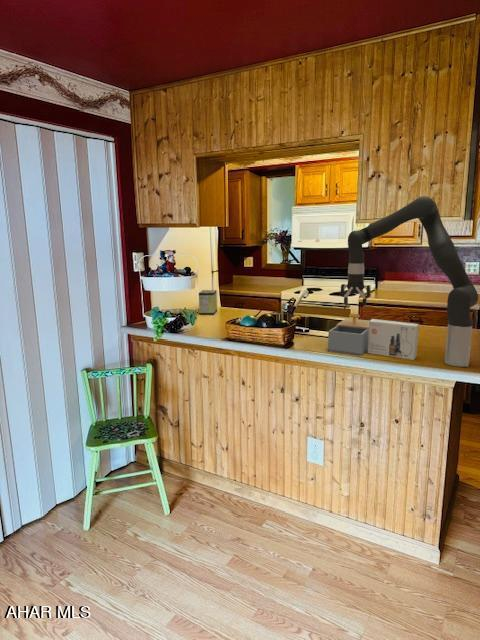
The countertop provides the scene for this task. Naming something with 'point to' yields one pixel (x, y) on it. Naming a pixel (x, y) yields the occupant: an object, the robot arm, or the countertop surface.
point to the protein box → (207, 302)
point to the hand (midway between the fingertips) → (354, 305)
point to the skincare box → (393, 338)
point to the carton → (348, 340)
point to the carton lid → (354, 322)
